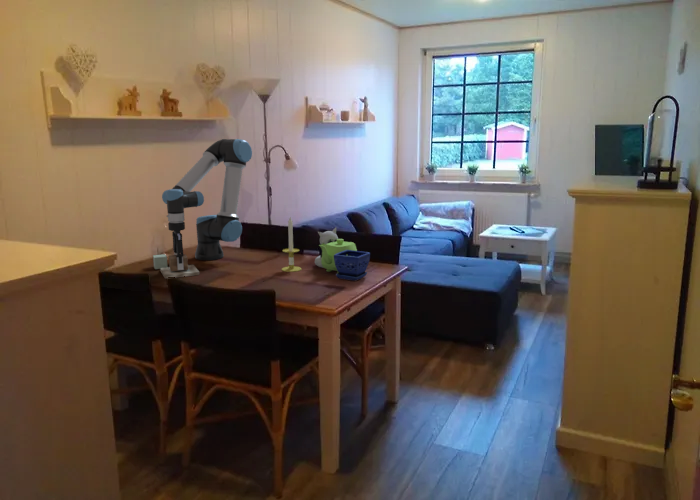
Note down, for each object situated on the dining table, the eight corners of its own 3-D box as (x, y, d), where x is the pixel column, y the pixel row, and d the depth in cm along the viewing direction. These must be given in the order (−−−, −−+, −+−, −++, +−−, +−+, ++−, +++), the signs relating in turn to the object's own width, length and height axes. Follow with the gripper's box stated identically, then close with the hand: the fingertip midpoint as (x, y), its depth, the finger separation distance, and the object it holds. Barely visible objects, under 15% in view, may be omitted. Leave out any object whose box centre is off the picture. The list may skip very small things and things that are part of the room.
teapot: (336, 262, 292) (335, 232, 288) (366, 269, 277) (367, 238, 274) (300, 271, 274) (299, 239, 271) (331, 279, 260) (331, 245, 256)
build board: (193, 267, 282) (193, 264, 281) (199, 274, 268) (199, 271, 267) (160, 270, 275) (160, 267, 275) (164, 278, 261) (164, 275, 261)
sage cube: (166, 265, 286) (165, 254, 285) (167, 268, 281) (166, 256, 280) (153, 266, 284) (153, 255, 283) (155, 269, 279) (154, 257, 277)
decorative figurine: (320, 270, 276) (320, 230, 272) (311, 263, 289) (310, 226, 285) (348, 267, 282) (348, 228, 278) (337, 261, 295) (337, 224, 291)
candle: (305, 268, 280) (304, 215, 275) (295, 272, 272) (293, 218, 266) (288, 266, 285) (286, 214, 279) (277, 270, 276) (276, 216, 270)
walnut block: (186, 266, 276) (185, 254, 275) (188, 269, 268) (187, 257, 267) (169, 267, 273) (168, 255, 272) (170, 271, 266) (170, 258, 264)
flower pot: (358, 282, 252) (358, 257, 250) (332, 279, 258) (332, 253, 256) (370, 276, 264) (371, 252, 262) (345, 273, 270) (346, 249, 268)
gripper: (165, 219, 274) (168, 263, 278) (171, 225, 255) (174, 273, 260) (181, 218, 277) (183, 262, 282) (188, 224, 258) (190, 271, 263)
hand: (179, 267), depth 271 cm, fingers closed on walnut block, 8 cm apart
